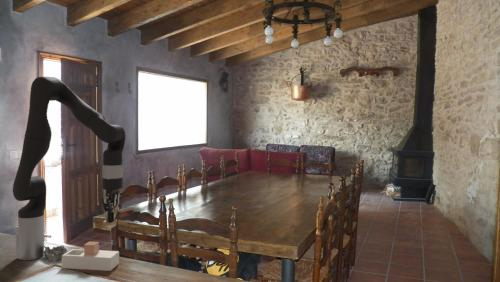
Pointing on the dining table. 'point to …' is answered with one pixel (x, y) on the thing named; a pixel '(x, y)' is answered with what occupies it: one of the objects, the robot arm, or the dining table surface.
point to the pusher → (110, 224)
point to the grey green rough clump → (55, 253)
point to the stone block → (91, 248)
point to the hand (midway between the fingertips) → (112, 220)
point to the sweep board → (90, 260)
